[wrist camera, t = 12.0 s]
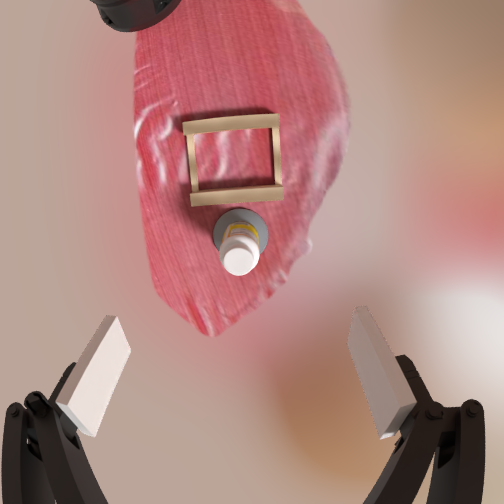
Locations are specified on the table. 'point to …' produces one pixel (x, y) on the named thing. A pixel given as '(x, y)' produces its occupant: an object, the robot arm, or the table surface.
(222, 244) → the supplement bottle
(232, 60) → the table surface
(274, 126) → the open wooden frame
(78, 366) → the robot arm
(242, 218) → the coaster
